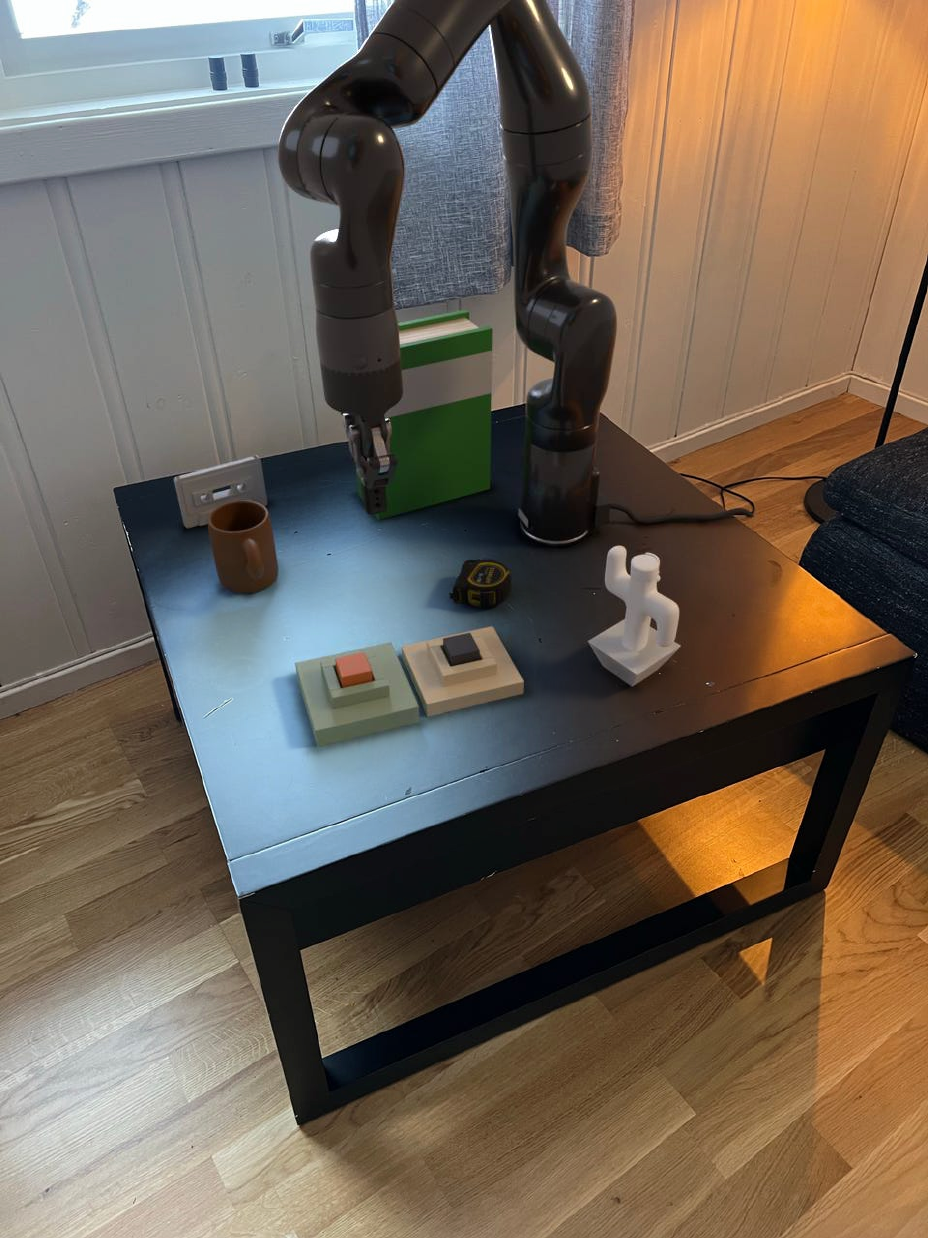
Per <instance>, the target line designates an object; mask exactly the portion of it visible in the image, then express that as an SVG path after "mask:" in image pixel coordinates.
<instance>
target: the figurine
mask: <svg viewBox="0 0 928 1238" xmlns="http://www.w3.org/2000/svg"><path fill="white" fill-rule="evenodd" d="M605 563H606V564H605V572H604V573H605V574H604V585H605V588H606V589H607V591H608V592H609V593H611V594H613V595H614V596H616V597H617V598H619V599H621V600H622V601H623V602H624V603H625V607H626V608H625V616H624V617H625V618H624V619H622V620H620V621H619V622H617V623H615V624H614V625H612V626H610V627H609V628H607V629H605V630H604V631H602V632H600V633H599V634H597V635H595V636H594V637H592V638H591V639H589V640H587V643H588V644H589V646H590V647H591V649H592V651H593V653H594V654H595V656H596V657H597V659H598V661H599V662H600V664H601V666H602V667H603V668H604V669H606V670H608V671H609V672H610V673H612V674H613V675H615V676H616V677H617V678H619V679H620V680H622V681H623V682H625V683H626V684H627V685H629V686H630V687H634V686H635V685H637V684H639V683H640V682H641V681H643V680H644V679H646V678H648V677H649V676H651V675H652V674H654V673H655V672H658V670H660V668H662V666H664V665H665V663H666V662H667V661H668V660H669V659H670V658H672V656H673V655H674V654H675V653H676V652H677V651H678V650H679V649H680V648H681V646H682V645H681V644H678V643H677V642H675V640H676V636H677V630H678V625H679V620H680V608H679V606H678V604H677V602H675V601H673V600H672V599H671V598H668V597H667V596H665V595H664V594H662V593H661V592H658V587H657V585H658V582H660V581H661V576H660V575H659V574H660V572H661V571H660V566H661V565H660V564H661V560H660V558H659V557H658V556H657V555H656V554H654V553H651V552H645V553H644V554H639V555H635V556H634V557H632V558H631V560H630V574H629V573H628V571H627V565H626V563H627V548H625V546H623V545H616V546H613V547H612V548H610V549H609V551H608V552H607V556H606V562H605ZM652 619H653V620H654V621H655V623H656V629H655V628H653V627H652V626H651V621H652Z"/></svg>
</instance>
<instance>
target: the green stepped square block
mask: <svg viewBox="0 0 928 1238" xmlns="http://www.w3.org/2000/svg"><path fill="white" fill-rule="evenodd" d="M363 652H364V653H365V655H366V658H367V661H368V663H369V666H370V668H371V671H372V682H367V683H363V684H359V685H354V686H350V687H345V688H343V687H342V684H341V681H340V678H339V675H338V672H337V669H336V662H335V659H336V658H340V657H345V656H349V655H354V654H359V653H363ZM294 667H295V673H296V679H297V682H298V686H299V690H300V693H301V696H302V699H303V704H304V706H305V710H306V714H307V716H308V720H309V723H310V727H311V730H312V733H313V737H314V740H315V744H316V747H317V748H318V747H323V746H326V745H330V744H335V743H338V742H343V741H348V740H351V739H356V738H359V737H363V736H368V735H372V734H376V733H380V732H385V731H389V730H392V729H397V728H401V727H404V726H409V725H413V724H417V723H420V706H419V704H418V701H417V698H416V697H415V694H414V692H413V689H412V688H411V685H410V682H409V680H408V678H407V676H406V673H405V671H404V669H403V666H402V664H401V661H400V659H399V657H398V654H397V652H396V650H395V648H394V645H393V643H392V641H389V642H385V643H381V644H375V645H371V646H367V647H362V648H357V649H352V650H349V651H344V652H339V653H335V654H329V655H325V656H321V657H317V658H312V659H307V660H306V659H305V660H302V661H298V662H294Z"/></svg>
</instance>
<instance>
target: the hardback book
mask: <svg viewBox="0 0 928 1238" xmlns="http://www.w3.org/2000/svg"><path fill="white" fill-rule="evenodd" d="M398 325H399V337H400V352H401V365H402V380H403V396H402V398H401V400H400V401H399V403H398V404H396V405H395V406H394V407H392V408H390V409H389V410H388V411H387V412H386V413H385V415H384V417H385V419H389V420H390V423H391V430H392V436H391V438H390V453H395V454H396V456H397V458H398V462H397V468H396V471H395V474H394V478H393V481H392V484H391V485H386V486H385V489H386V500H387V510H386V511H385V512H383V513H379V514H374V516H375V517H376V519H377V520H378V521H379V520H384V519H388V518H390V517H394V516H397V515H401V514H405V513H408V512H412V511H415V510H419V509H423V508H427V507H430V506H433V505H434V506H435V505H438V504H440V503H444V502H448V501H452V500H454V499H455V500H456V499H459V498H462V497H465V496H470V495H473V494H476V493H480V492H484V491H487V490H491V465H492V464H491V460H492V459H491V457H492V456H491V455H492V452H491V451H492V399H493V398H492V396H493V395H492V392H493V390H492V389H493V327H491V326H490V325H486V326H482V327H479V326H477V325H476V324H475V323H474V322H472V321H470V311H469V310H468V309H461V310H458V311H457V310H455V311H451V312H446V313H442V314H437V315H431V316H426V317H421V318H416V319H412V320H406V321H400V322H398ZM356 470H357V467H356V466H355V471H356ZM355 476H356V485H357V495H358V497H359V498H360V499H361V500H362V490H361V481H360V478H361V477H360V478H359V476H358V474H357V473H356V472H355Z"/></svg>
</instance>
